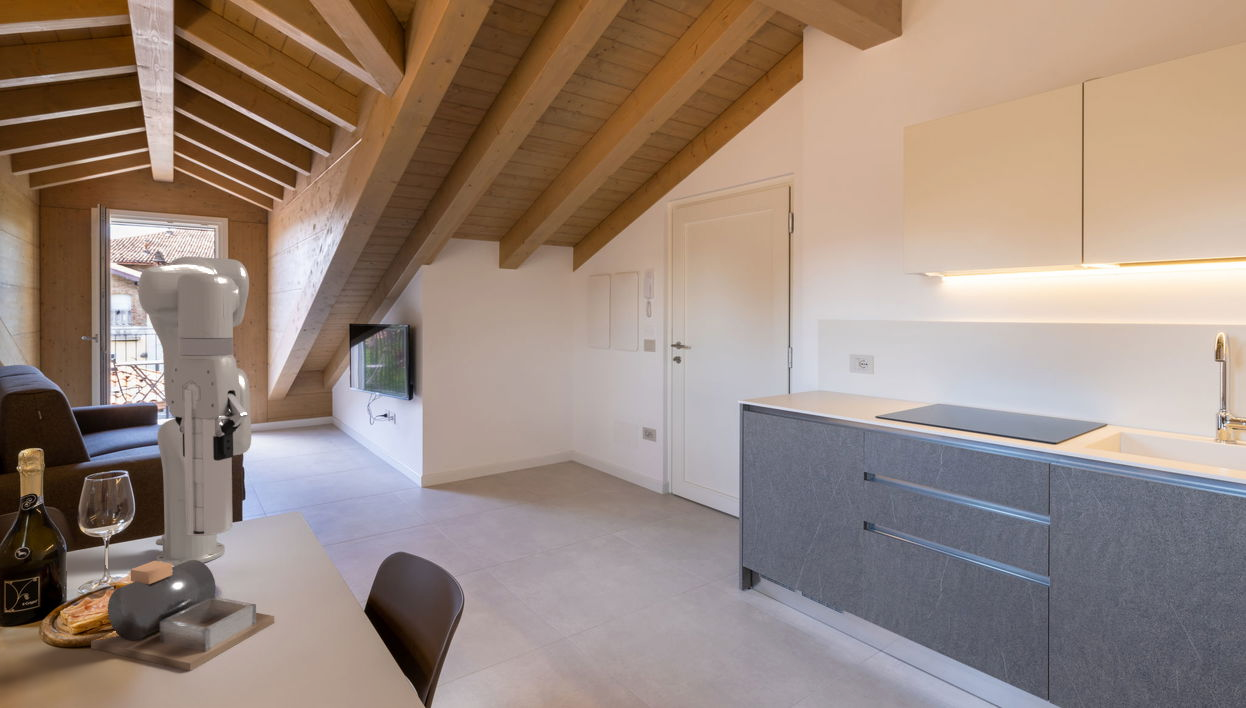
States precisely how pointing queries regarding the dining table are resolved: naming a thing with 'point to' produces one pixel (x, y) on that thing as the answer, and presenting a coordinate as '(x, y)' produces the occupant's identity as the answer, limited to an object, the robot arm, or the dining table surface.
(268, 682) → the dining table surface
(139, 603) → the motor mount
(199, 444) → the silver tall cylinder
